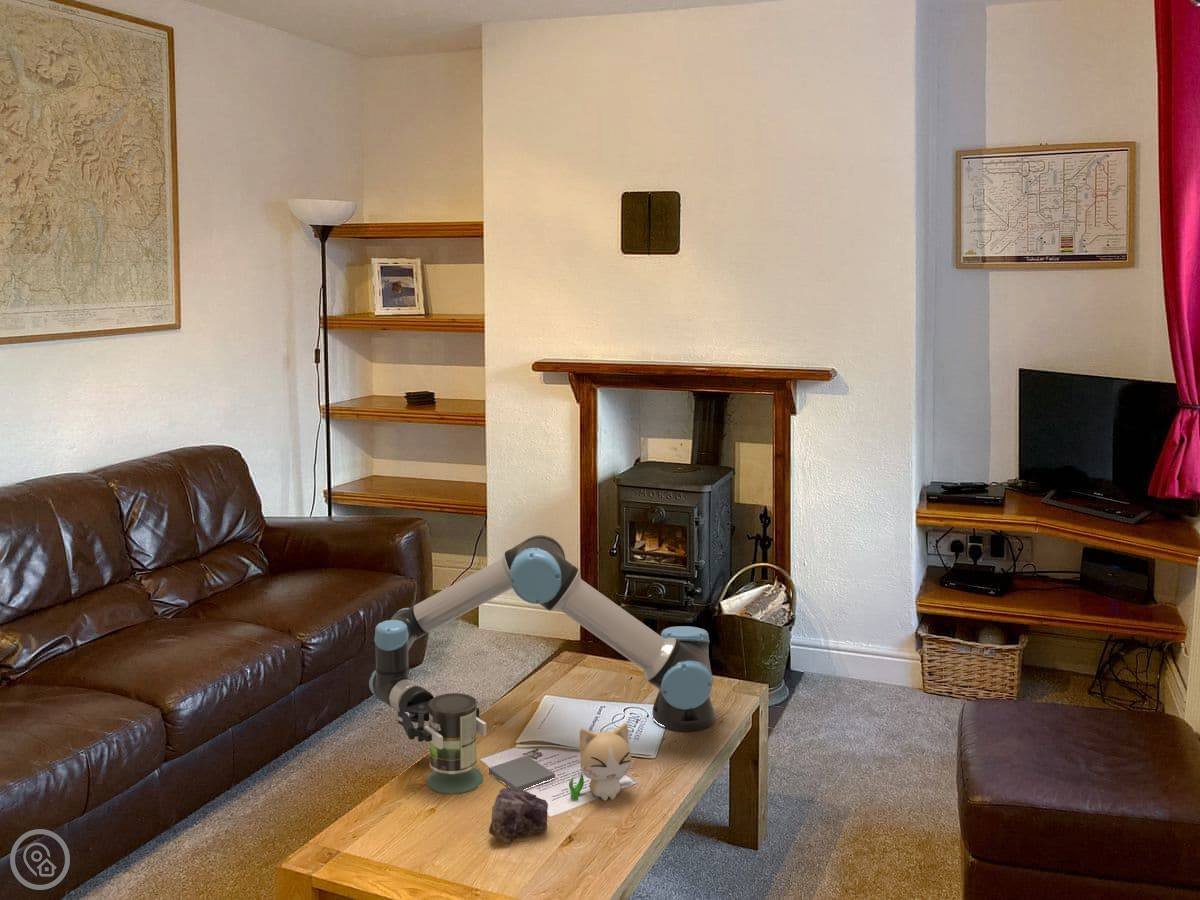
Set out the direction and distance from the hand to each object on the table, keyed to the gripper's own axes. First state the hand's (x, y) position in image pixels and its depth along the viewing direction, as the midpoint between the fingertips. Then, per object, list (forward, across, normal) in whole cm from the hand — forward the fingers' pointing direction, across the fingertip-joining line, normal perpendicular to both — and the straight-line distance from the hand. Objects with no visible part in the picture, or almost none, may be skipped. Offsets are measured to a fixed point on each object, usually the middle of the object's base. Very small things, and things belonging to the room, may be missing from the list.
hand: (463, 736), depth 237 cm
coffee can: (-4, 0, -8) cm, 9 cm away
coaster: (-4, 0, -12) cm, 13 cm away
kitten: (+20, -22, -12) cm, 32 cm away
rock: (+22, +1, -12) cm, 25 cm away
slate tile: (-2, -13, -11) cm, 17 cm away
